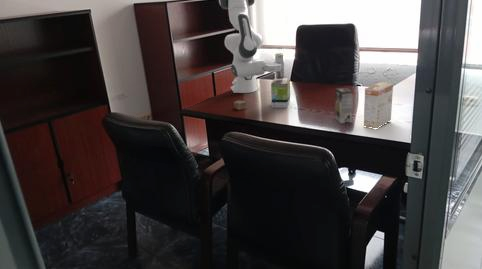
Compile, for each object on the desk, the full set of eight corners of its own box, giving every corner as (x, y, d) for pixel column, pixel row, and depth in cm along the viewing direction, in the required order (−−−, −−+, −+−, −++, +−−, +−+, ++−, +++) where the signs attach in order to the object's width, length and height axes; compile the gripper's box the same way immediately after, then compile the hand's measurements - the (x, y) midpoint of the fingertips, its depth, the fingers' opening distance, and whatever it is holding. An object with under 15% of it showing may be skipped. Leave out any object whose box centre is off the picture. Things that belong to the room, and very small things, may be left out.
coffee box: (334, 118, 211) (335, 88, 206) (346, 117, 212) (347, 87, 206) (340, 123, 203) (340, 92, 197) (352, 122, 203) (353, 91, 197)
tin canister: (274, 77, 237) (273, 54, 233) (282, 76, 239) (281, 53, 234) (278, 79, 233) (277, 55, 228) (286, 78, 234) (285, 54, 230)
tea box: (288, 108, 234) (287, 83, 229) (271, 108, 236) (270, 83, 231) (290, 101, 247) (289, 77, 242) (274, 101, 250) (273, 77, 244)
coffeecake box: (378, 119, 205) (380, 81, 198) (391, 121, 200) (394, 83, 193) (362, 127, 196) (364, 88, 189) (376, 130, 191) (378, 90, 184)
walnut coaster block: (234, 108, 240) (234, 102, 239) (241, 106, 243) (240, 100, 241) (239, 110, 236) (239, 103, 235) (246, 108, 239) (245, 101, 237)
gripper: (266, 64, 219) (289, 61, 223) (252, 59, 237) (273, 56, 241) (267, 75, 221) (289, 72, 225) (252, 69, 239) (274, 67, 244)
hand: (281, 64), depth 234 cm, fingers closed on tin canister, 5 cm apart
